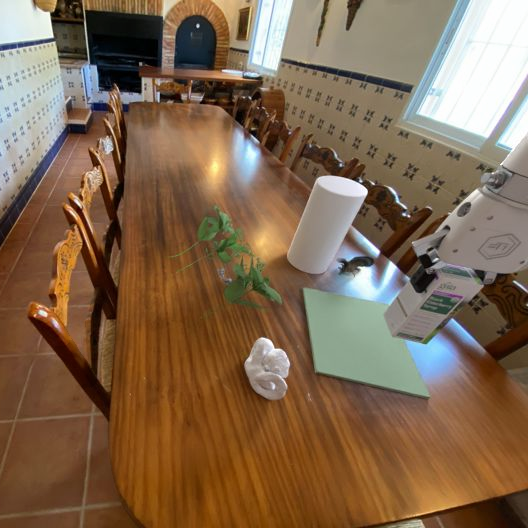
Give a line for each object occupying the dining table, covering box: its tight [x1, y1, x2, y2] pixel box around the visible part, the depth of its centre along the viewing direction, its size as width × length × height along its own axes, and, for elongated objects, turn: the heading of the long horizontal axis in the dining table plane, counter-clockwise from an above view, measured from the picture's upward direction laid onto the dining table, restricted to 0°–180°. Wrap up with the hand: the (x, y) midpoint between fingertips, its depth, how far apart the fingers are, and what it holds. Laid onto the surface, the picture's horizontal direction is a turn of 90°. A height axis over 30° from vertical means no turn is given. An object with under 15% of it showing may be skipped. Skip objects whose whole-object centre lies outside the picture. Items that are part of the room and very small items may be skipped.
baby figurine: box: [243, 337, 291, 401], centre depth 59 cm, size 9×12×8 cm
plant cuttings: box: [168, 205, 283, 326], centre depth 74 cm, size 35×17×22 cm
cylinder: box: [286, 175, 368, 275], centre depth 84 cm, size 12×12×25 cm
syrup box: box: [384, 257, 485, 345], centre depth 50 cm, size 6×6×14 cm
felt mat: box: [302, 286, 432, 400], centre depth 70 cm, size 22×26×1 cm
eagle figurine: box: [336, 255, 375, 278], centre depth 87 cm, size 8×7×9 cm
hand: (436, 290), depth 48 cm, fingers closed on syrup box, 5 cm apart
